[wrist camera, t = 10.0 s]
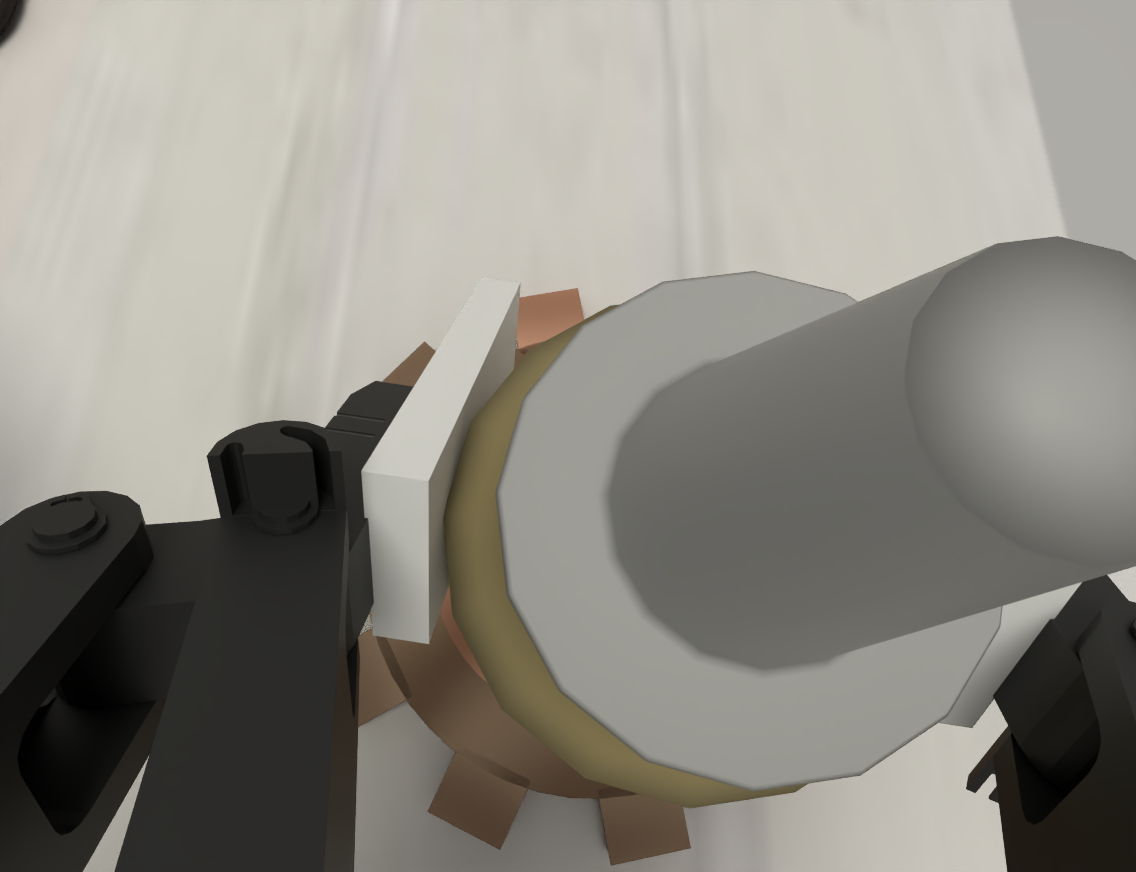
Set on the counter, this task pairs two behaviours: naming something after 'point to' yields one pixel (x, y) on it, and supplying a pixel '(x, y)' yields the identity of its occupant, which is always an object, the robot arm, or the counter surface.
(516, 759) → the sprocket disc
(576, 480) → the squeeze bottle
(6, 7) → the salad plate
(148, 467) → the counter surface
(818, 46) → the counter surface
